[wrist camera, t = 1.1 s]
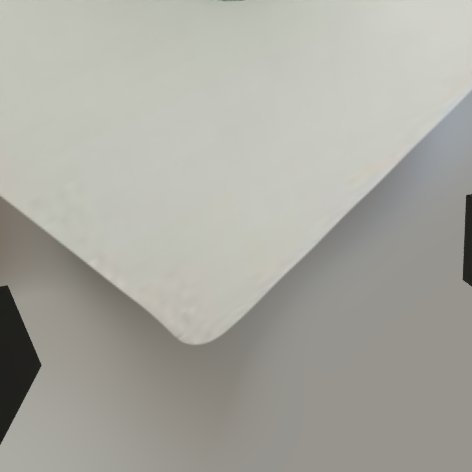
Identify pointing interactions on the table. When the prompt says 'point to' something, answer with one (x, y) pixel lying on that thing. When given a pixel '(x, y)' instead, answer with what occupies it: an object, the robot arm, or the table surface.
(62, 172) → the table surface
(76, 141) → the table surface
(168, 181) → the table surface
